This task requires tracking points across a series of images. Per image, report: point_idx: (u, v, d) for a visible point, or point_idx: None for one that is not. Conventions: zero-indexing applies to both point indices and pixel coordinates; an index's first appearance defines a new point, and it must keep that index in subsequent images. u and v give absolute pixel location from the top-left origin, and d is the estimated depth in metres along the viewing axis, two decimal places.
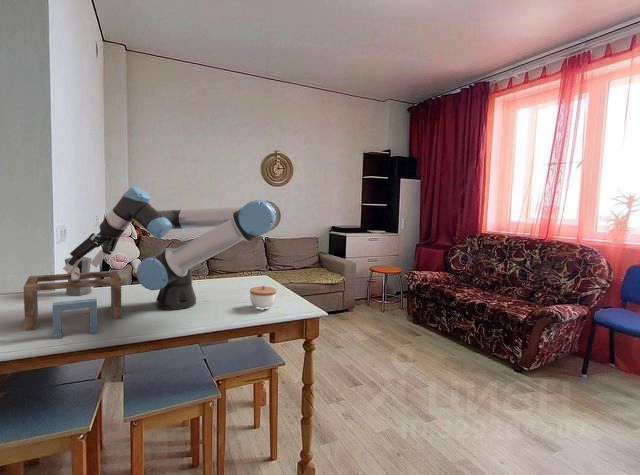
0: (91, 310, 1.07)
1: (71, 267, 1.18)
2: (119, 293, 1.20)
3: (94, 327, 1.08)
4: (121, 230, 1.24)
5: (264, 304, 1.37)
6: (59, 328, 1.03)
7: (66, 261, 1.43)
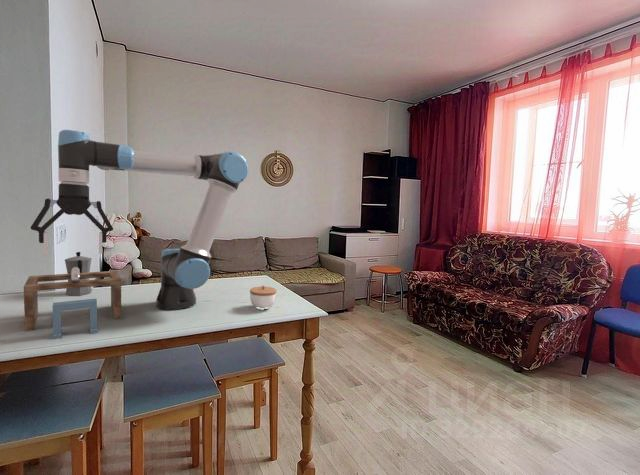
0: (91, 310, 1.07)
1: None
2: (119, 293, 1.20)
3: (94, 327, 1.08)
4: None
5: (264, 304, 1.37)
6: (59, 328, 1.03)
7: (66, 261, 1.43)
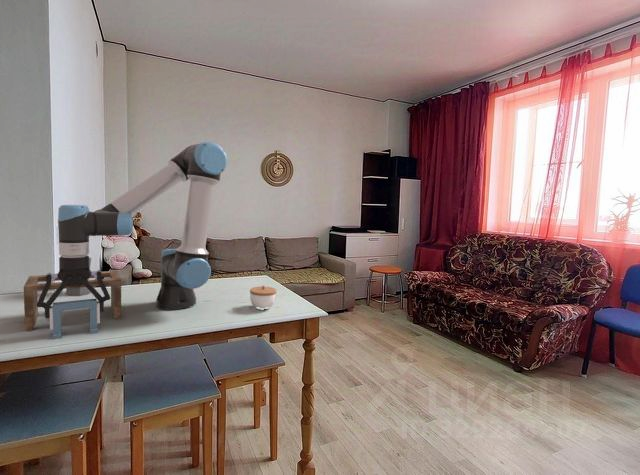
0: (91, 310, 1.07)
1: None
2: (119, 293, 1.20)
3: (94, 327, 1.08)
4: None
5: (264, 304, 1.37)
6: (59, 328, 1.03)
7: None
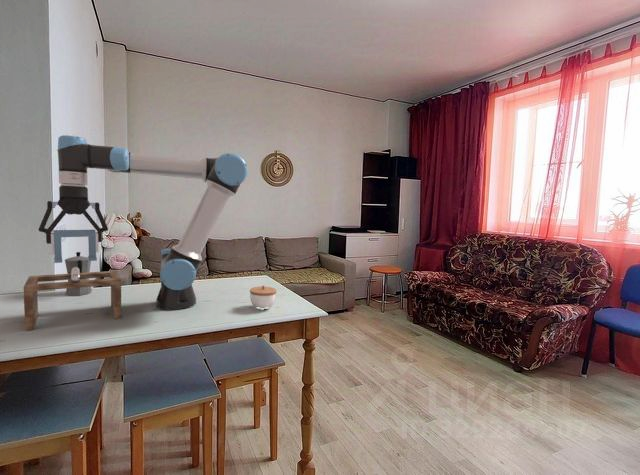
0: (90, 239, 1.14)
1: None
2: (119, 293, 1.20)
3: (93, 255, 1.15)
4: None
5: (264, 304, 1.37)
6: (60, 253, 1.09)
7: (66, 261, 1.43)
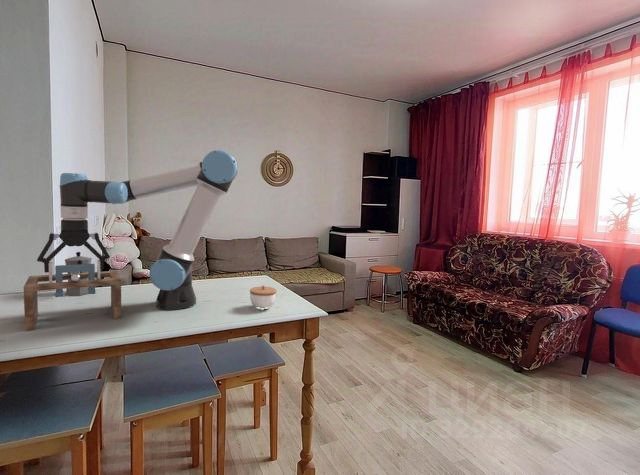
0: (89, 273, 1.20)
1: None
2: (119, 293, 1.20)
3: (92, 289, 1.21)
4: None
5: (264, 304, 1.37)
6: None
7: (66, 261, 1.43)
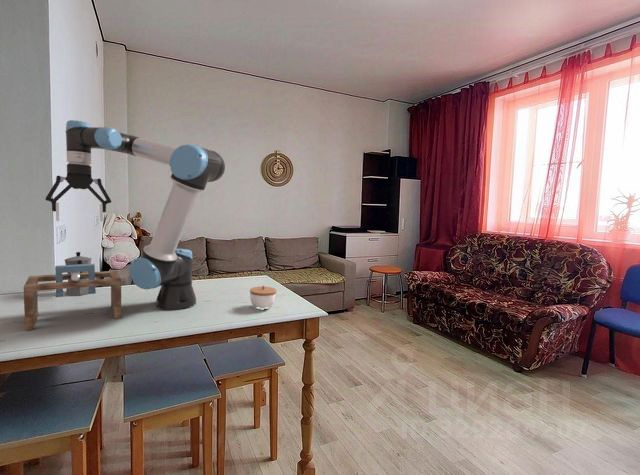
0: (89, 273, 1.20)
1: None
2: (119, 293, 1.20)
3: (92, 289, 1.21)
4: None
5: (264, 304, 1.37)
6: None
7: (66, 261, 1.43)
